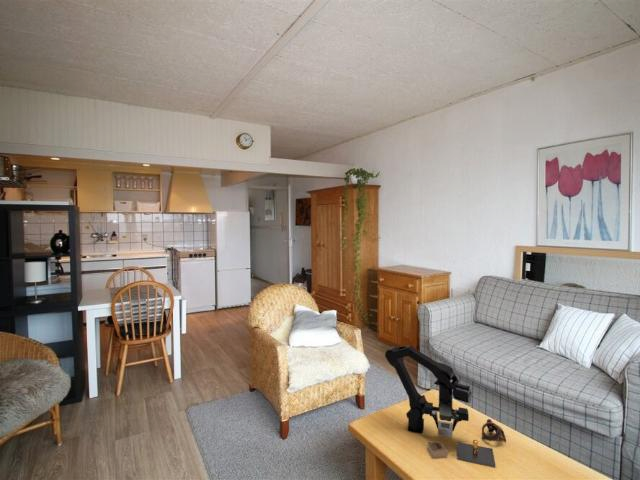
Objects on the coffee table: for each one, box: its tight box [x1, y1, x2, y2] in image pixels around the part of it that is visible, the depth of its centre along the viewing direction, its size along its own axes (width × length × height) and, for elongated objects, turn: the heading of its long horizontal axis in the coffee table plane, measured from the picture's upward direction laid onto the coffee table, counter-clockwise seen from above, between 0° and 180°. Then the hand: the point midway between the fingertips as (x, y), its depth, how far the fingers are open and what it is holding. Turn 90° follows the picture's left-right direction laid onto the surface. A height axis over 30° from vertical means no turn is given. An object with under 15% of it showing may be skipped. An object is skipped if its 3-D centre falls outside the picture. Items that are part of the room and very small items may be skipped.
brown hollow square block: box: [426, 440, 448, 459], centre depth 149 cm, size 6×6×3 cm
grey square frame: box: [437, 420, 454, 438], centre depth 157 cm, size 6×6×3 cm
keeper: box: [456, 439, 496, 468], centre depth 147 cm, size 14×10×6 cm
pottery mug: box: [481, 418, 507, 442], centre depth 158 cm, size 12×10×8 cm
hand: (445, 429), depth 157 cm, fingers closed on grey square frame, 6 cm apart
